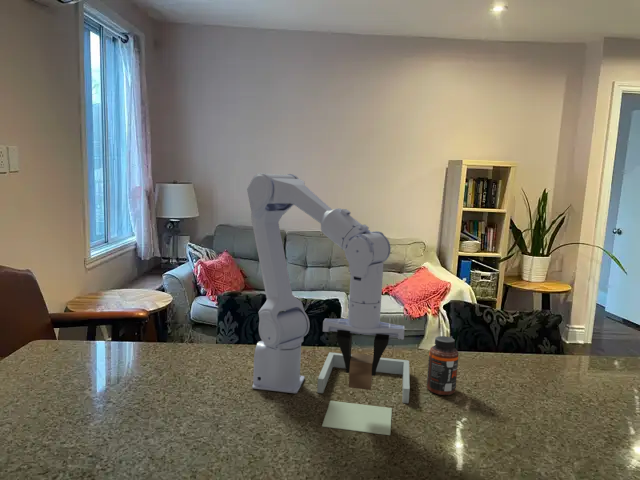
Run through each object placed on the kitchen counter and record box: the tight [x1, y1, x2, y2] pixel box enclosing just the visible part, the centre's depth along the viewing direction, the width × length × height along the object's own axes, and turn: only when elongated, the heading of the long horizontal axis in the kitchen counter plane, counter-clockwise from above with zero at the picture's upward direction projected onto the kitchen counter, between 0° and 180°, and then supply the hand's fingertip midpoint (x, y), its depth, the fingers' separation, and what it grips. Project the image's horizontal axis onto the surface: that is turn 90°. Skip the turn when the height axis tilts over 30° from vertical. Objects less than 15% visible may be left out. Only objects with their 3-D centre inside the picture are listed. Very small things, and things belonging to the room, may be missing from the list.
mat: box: [321, 400, 393, 436], centre depth 90 cm, size 12×10×1 cm
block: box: [348, 352, 374, 391], centre depth 90 cm, size 4×4×5 cm
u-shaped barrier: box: [316, 351, 411, 404], centre depth 105 cm, size 18×15×3 cm
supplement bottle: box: [426, 335, 459, 396], centre depth 102 cm, size 6×6×11 cm
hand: (361, 372), depth 89 cm, fingers closed on block, 4 cm apart
